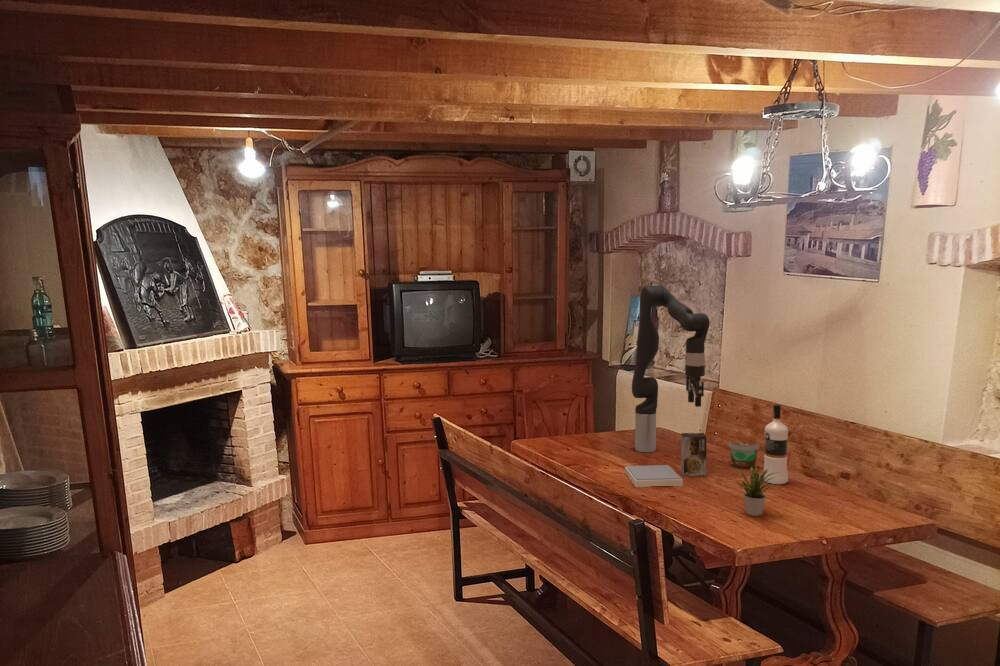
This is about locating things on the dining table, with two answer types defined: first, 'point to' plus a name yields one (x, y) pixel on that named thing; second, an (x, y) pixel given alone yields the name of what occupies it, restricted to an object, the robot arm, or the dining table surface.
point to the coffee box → (693, 454)
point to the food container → (743, 455)
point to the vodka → (776, 449)
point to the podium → (653, 476)
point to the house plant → (755, 492)
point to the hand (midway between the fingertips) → (694, 404)
